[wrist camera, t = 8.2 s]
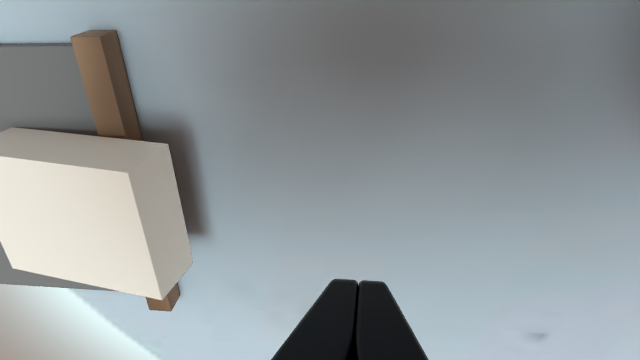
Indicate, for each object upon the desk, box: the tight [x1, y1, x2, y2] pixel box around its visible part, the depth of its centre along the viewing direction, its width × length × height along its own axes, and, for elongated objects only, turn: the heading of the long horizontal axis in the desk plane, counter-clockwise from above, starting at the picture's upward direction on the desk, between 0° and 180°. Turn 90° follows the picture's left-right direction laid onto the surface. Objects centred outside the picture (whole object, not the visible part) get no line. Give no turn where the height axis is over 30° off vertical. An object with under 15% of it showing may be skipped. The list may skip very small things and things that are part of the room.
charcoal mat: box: [0, 43, 116, 291], centre depth 22 cm, size 10×13×1 cm
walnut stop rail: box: [70, 30, 180, 311], centre depth 21 cm, size 1×14×1 cm, turn 2°
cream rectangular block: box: [0, 127, 193, 300], centre depth 20 cm, size 3×6×8 cm
